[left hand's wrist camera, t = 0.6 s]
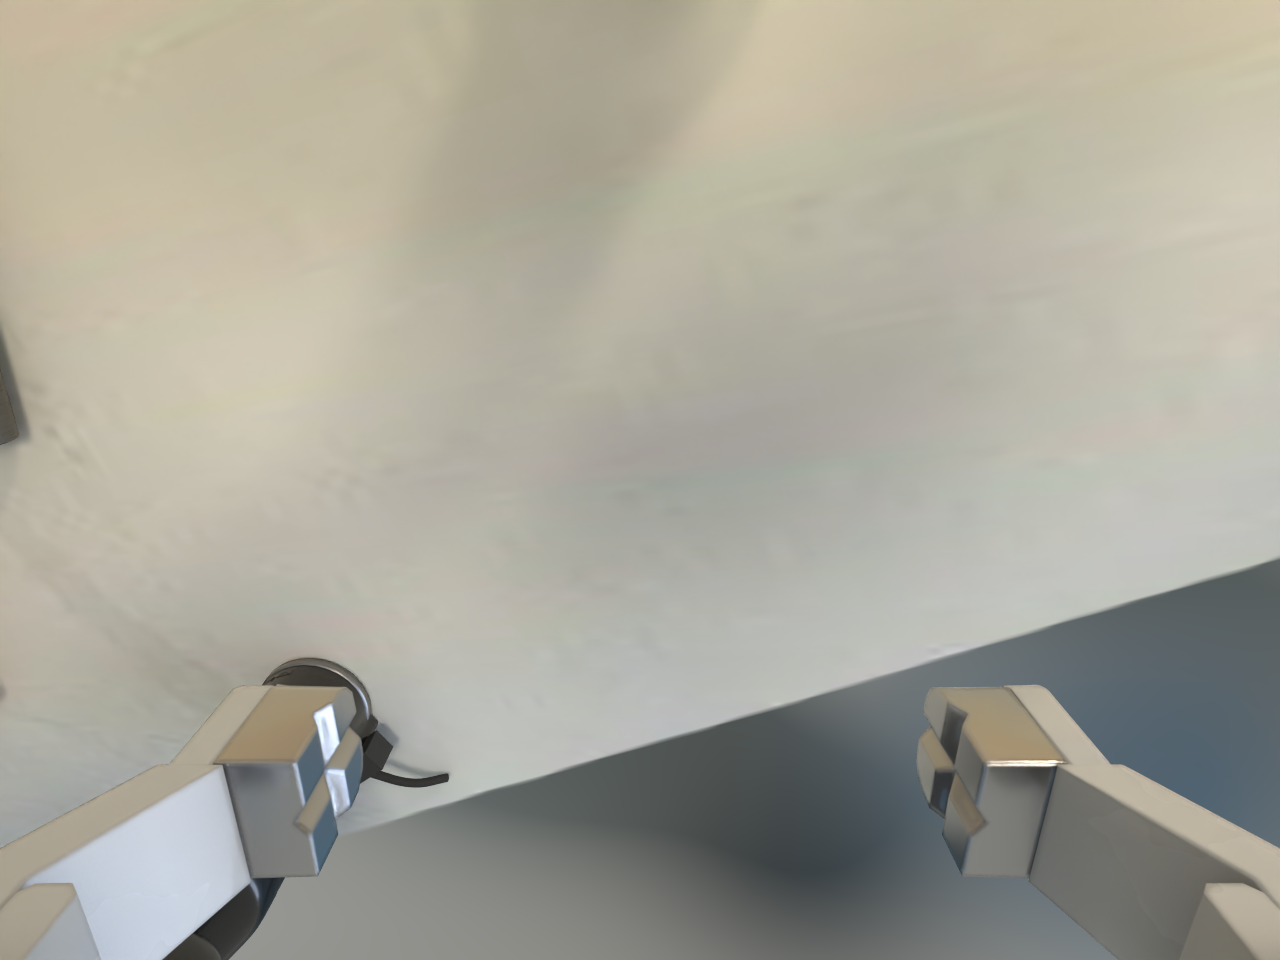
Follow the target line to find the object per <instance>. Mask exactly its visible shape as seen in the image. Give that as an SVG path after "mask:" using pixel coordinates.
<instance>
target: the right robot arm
mask: <svg viewBox="0 0 1280 960" xmlns="http://www.w3.org/2000/svg"><path fill="white" fill-rule="evenodd" d="M263 685H272V686H278V685H279V686H324V687H347V688H348V689H349V690H350V691H352V692H353V697H354V702H355V707H356V711H357V712H356V714H355V716H354V718H353V720H352V721H351V723H350V725H349V727H350V728H351V729H352V730H353V731H354V732H355V733H356V734H357V735H358V736H359V737H360V738H361V742H362V749H363V771H362V776H361V781H360V783H362V782H363V781H365V780H367V779H368V778H370V777H371V778H375V779H378V780H381V781H384V782H388V783H391V784H395V785H399V786H404V787H427V786H432V785H436V784H440V783H444V782H448V780H449V776H448V774H441V775H437V776H433V777H429V778H422V779H411V778H404V777H399V776H395V775H392V774H389V773H385V772H382V771H381V770H382V769H383V767H384V765H385V763H386V761H387V759H388V756H389V754H390V752H391V750H392V748H393V746H392V745H391V744H390V743H389V742H388V741H387V740H386V739H385V738H384V737H383V736H382V735H381V734H380V733H379V732H378V731H377V730H376V731H375V732H374V730H375V728H376V726H377V724H378V722H377V720H376V719H375V718H374V717H373V716H372V715H371V704H370V699H369V697H368V694H367V692H366V690H365V688H364V687H363V685H362V684H361V683H360V681H359V680H358V679H357V678H356V677H355V676H354V675H353V674H351V673H350V672H349V671H347V670H346V669H344V668H342V667H340V666H339V665H336V664H334V663H331V662H328V661H325V660H320V659H297V660H293V661H290V662H287V663H285V664H283V665H281V666H279V667H278V668H276V669H275V670H274V671H273V672H272V673H271V674H270V675H269V677H268V678H267V679H266V680H265V682H264V683H263ZM284 878H285V877H275V878H251V883H249V884H248V885H247V886H246V887H245V888H244V889H242V890H241V891H240V892H239V893H238V894H237V895H236V896H234V897H233V898H232V899H231V900H230V901H229V902H228V903H226V904H225V905H224V906H223V907H222V908H221V909H220V910H218V911H217V912H216V913H215V914H214V915H213V916H212V917H210V918H209V919H208V920H207V921H206V922H205V923H204V924H202V925H201V926H200V927H199V928H198V929H197V930H195V931H194V932H193V933H192V934H191V935H190V936H189V937H187V938H186V939H185V940H184V941H183V942H182V943H181V944H179V945H178V946H177V947H176V948H175V949H174V950H173V951H171V952H170V953H169V954H168V955H167V956H166V957H165V958H163V959H162V960H229V959H230V958H231V957H232V955H233V954H234V953H235V952H236V951H237V950H238V949H239V948H240V947H241V946H242V945H243V944H244V943H245V942H246V941H247V940H248V939H249V938H250V937H251V935H252V934H253V933H254V932H255V930H256V929H257V928H258V926H259V925H260V923H261V921H262V920H263V918H264V916H265V915H266V913H267V911H268V909H269V907H270V905H271V903H272V902H273V900H274V898H275V896H276V894H277V891H278V889H279V888H280V886H281V884H282V882H283V880H284Z"/></svg>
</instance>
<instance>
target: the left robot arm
mask: <svg viewBox="0 0 1280 960" xmlns="http://www.w3.org/2000/svg"><path fill="white" fill-rule="evenodd" d="M356 712H357V711H356V707H355V702H354V697H353V692H352V691H350V690H349V689H348V688H347V687H324V686H279V685H278V686H272V685H242V686H240V687H237V688H234V689H233V690H232V691H231V692H230V693H229V694H228V695H227V697H226V698H225V699H224V700H223V701H222V703H221V704H220V705H219V706H218V707H217V708H216V710H215V711H214V712H213V713H212V714H211V716H210V717H209V718H208V719H207V720H206V722H205V723H204V724H203V725H202V726H201V727H200V729H199V730H198V731H197V732H196V733H195V735H194V736H193V737H192V738H191V739H190V740H189V742H188V743H187V744H186V745H185V746H184V748H183V749H182V750H181V751H180V752H179V754H178V755H177V756H176V757H175V758H174V759H173V761H172V762H171V763H170V764H169V765H156V766H154V767H152V768H150V769H149V770H147V771H145V772H143V773H141V774H139V775H137V776H135V777H134V778H132V779H130V780H128V781H126V782H124V783H122V784H120V785H118V786H117V787H115V788H113V789H111V790H109V791H107V792H105V793H103V794H102V795H100V796H98V797H96V798H94V799H92V800H90V801H88V802H87V803H85V804H83V805H81V806H79V807H77V808H75V809H73V810H72V811H70V812H68V813H66V814H64V815H62V816H60V817H58V818H56V819H55V820H53V821H51V822H49V823H47V824H45V825H43V826H41V827H40V828H38V829H36V830H34V831H32V832H30V833H28V834H26V835H25V836H23V837H21V838H19V839H17V840H15V841H13V842H11V843H10V844H8V845H6V846H4V847H2V848H0V960H162V959H163V958H165V957H166V956H167V955H168V954H169V953H170V952H171V951H173V950H174V949H175V948H176V947H177V946H178V945H179V944H181V943H182V942H183V941H184V940H185V939H186V938H187V937H189V936H190V935H191V934H192V933H193V932H194V931H195V930H197V929H198V928H199V927H200V926H201V925H202V924H204V923H205V922H206V921H207V920H208V919H209V918H210V917H212V916H213V915H214V914H215V913H216V912H217V911H218V910H220V909H221V908H222V907H223V906H224V905H225V904H226V903H228V902H229V901H230V900H231V899H232V898H233V897H234V896H236V895H237V894H238V893H239V892H240V891H241V890H242V889H244V888H245V887H246V886H247V885H248V884H249V883H251V878H275V877H309V876H318V875H319V873H320V871H321V869H322V866H323V864H324V862H325V860H326V858H327V856H328V854H329V852H330V850H331V848H332V846H333V844H334V842H335V840H336V838H337V835H338V832H337V826H336V820H335V819H336V818H338V817H339V816H341V815H342V814H343V813H345V812H346V811H347V810H349V809H350V808H351V806H352V804H353V802H354V799H355V797H356V795H357V793H358V790H359V785H360V781H361V776H362V771H363V749H362V742H361V738H360V737H359V736H358V735H357V734H356V733H355V732H354V731H353V730H352V729H351V728H350V727H349V725H350V723H351V721H352V720H353V718H354V716H355V714H356ZM923 712H924V714H925V716H926V718H927V720H928V721H929V723H930V725H931V727H930V728H929V729H928V730H927V731H926V732H925V733H924V734H923V735H922V736H921V737H920V738H919V743H918V751H917V768H918V778H919V782H920V785H921V789H922V793H923V795H924V797H925V799H926V802H927V804H928V806H929V808H930V809H931V810H933V811H934V812H935V813H937V814H938V815H940V816H941V817H942V818H944V819H945V820H944V826H943V832H942V835H943V838H944V840H945V842H946V844H947V846H948V848H949V850H950V852H951V854H952V856H953V858H954V860H955V862H956V864H957V866H958V868H959V870H960V872H961V875H962V876H970V877H1005V878H1029V882H1030V883H1031V884H1032V885H1033V886H1034V887H1036V888H1037V889H1038V890H1039V891H1040V892H1041V893H1042V894H1044V895H1045V896H1046V897H1047V898H1048V899H1049V900H1050V901H1052V902H1053V903H1054V904H1055V905H1056V906H1057V907H1058V908H1060V909H1061V910H1062V911H1063V912H1064V913H1065V914H1066V915H1068V916H1069V917H1070V918H1071V919H1072V920H1073V921H1075V922H1076V923H1077V924H1078V925H1079V926H1080V927H1081V928H1082V929H1084V930H1085V931H1086V932H1087V933H1088V934H1089V935H1091V936H1092V937H1093V938H1094V939H1095V940H1096V941H1097V942H1098V943H1100V944H1101V945H1102V946H1103V947H1104V948H1105V949H1106V950H1108V951H1109V952H1110V953H1111V954H1112V955H1113V956H1114V957H1116V958H1117V959H1118V960H1280V849H1279V848H1278V847H1276V846H1274V845H1272V844H1270V843H1268V842H1266V841H1264V840H1263V839H1261V838H1259V837H1257V836H1255V835H1253V834H1251V833H1249V832H1248V831H1246V830H1244V829H1242V828H1240V827H1238V826H1236V825H1234V824H1233V823H1231V822H1229V821H1227V820H1225V819H1223V818H1221V817H1219V816H1218V815H1216V814H1214V813H1212V812H1210V811H1208V810H1206V809H1204V808H1203V807H1201V806H1199V805H1197V804H1195V803H1193V802H1191V801H1190V800H1188V799H1186V798H1184V797H1182V796H1180V795H1178V794H1176V793H1174V792H1173V791H1171V790H1169V789H1167V788H1165V787H1163V786H1161V785H1160V784H1158V783H1156V782H1154V781H1152V780H1150V779H1148V778H1146V777H1145V776H1143V775H1141V774H1139V773H1137V772H1135V771H1133V770H1131V769H1130V768H1128V767H1126V766H1124V765H1111V764H1110V763H1109V762H1108V761H1107V759H1106V758H1105V757H1104V756H1103V755H1102V754H1101V752H1100V751H1099V750H1098V749H1097V748H1096V746H1095V745H1094V744H1093V743H1092V742H1091V741H1090V739H1089V738H1088V737H1087V736H1086V735H1085V733H1084V732H1083V731H1082V730H1081V729H1080V728H1079V726H1078V725H1077V724H1076V723H1075V722H1074V721H1073V719H1072V718H1071V717H1070V716H1069V715H1068V713H1067V712H1066V711H1065V710H1064V709H1063V707H1062V706H1061V705H1060V704H1059V703H1058V702H1057V700H1056V699H1055V698H1054V697H1053V696H1052V694H1051V693H1050V692H1049V691H1048V690H1047V689H1045V688H1044V687H1041V686H1040V685H1020V686H1002V687H961V688H959V687H958V688H930V690H929V692H928V694H927V696H926V700H925V706H924V711H923Z"/></svg>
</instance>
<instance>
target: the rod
mask: <svg viewBox="0 0 1280 960" xmlns="http://www.w3.org/2000/svg"><path fill="white" fill-rule="evenodd" d="M18 436H19V432H18V429H17V425H16V422H15V418H14V415H13V411H12V408H11V404H10V401H9V397H8V394H7V390H6V387H5V383H4V380H3V376H2V373H1V370H0V444H4V443H7V442H9V441H12V440H14V439H16V438H17V437H18Z"/></svg>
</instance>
